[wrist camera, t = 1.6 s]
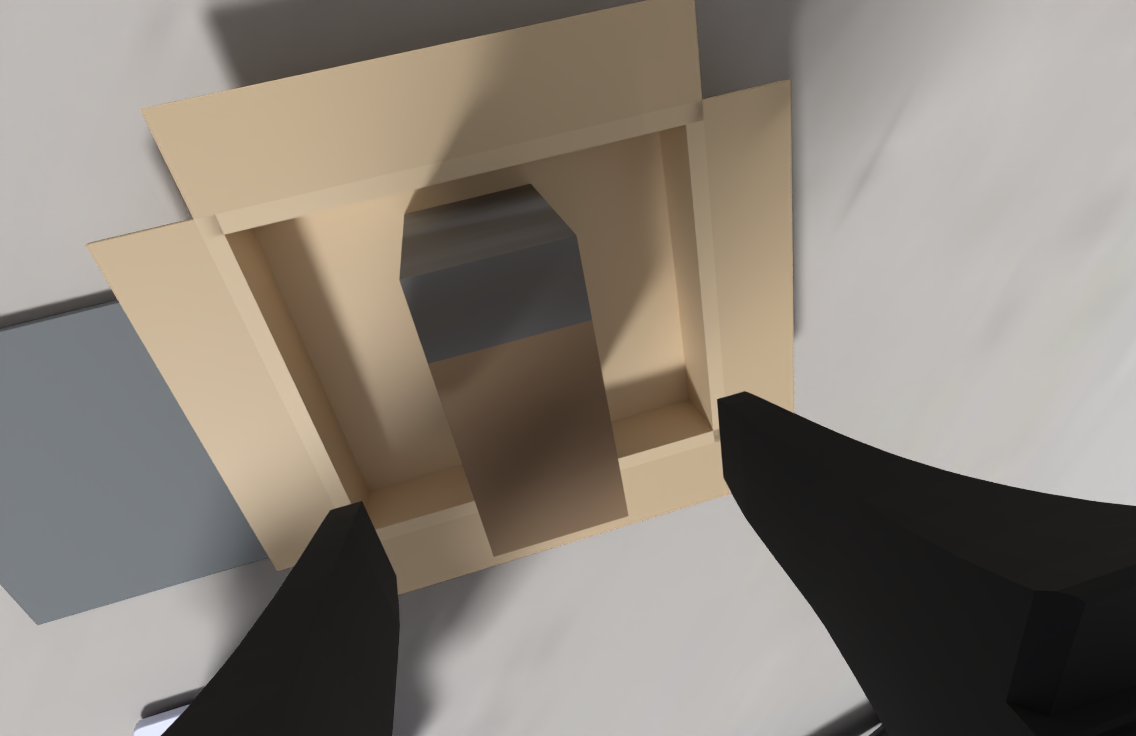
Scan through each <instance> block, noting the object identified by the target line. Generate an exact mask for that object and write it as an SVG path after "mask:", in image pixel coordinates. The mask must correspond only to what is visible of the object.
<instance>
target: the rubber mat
mask: <svg viewBox="0 0 1136 736" xmlns="http://www.w3.org/2000/svg"><path fill="white" fill-rule="evenodd" d="M266 558H269V557H268V555H267V553H266V551H265V550H264V548H263V546H262V545H261V543H260V541H259V540H258V538H257V536H256V534H255V533H254V531H253V529H252V528H251V526H250V524H249V523H248V521H247V519H246V517H245V516H244V514H243V512H242V511H241V509H240V507H239V506H238V504H237V502H236V500H235V499H234V497H233V495H232V494H231V492H230V490H229V489H228V487H227V485H226V483H225V482H224V480H223V478H222V477H221V475H220V473H219V471H218V470H217V468H216V466H215V465H214V463H213V461H212V460H211V458H210V456H209V454H208V453H207V451H206V449H205V448H204V446H203V444H202V443H201V441H200V439H199V437H198V436H197V434H196V432H195V431H194V429H193V427H192V426H191V424H190V422H189V420H188V419H187V417H186V415H185V414H184V412H183V410H182V409H181V407H180V405H179V403H178V402H177V400H176V398H175V397H174V395H173V393H172V392H171V390H170V388H169V386H168V385H167V383H166V381H165V380H164V378H163V376H162V375H161V373H160V371H159V369H158V368H157V366H156V364H155V363H154V361H153V359H152V357H151V356H150V354H149V352H148V351H147V349H146V347H145V346H144V344H143V342H142V340H141V339H140V337H139V335H138V334H137V332H136V330H135V329H134V327H133V325H132V323H131V322H130V320H129V318H128V317H127V315H126V313H125V312H124V310H123V308H122V306H121V305H120V303H119V301H118V300H115V301H110V302H106V303H102V304H98V305H94V306H90V307H86V308H82V309H78V310H74V311H70V312H65V313H61V314H57V315H53V316H49V317H45V318H41V319H37V320H33V321H29V322H25V323H21V324H16V325H12V326H8V327H4V328H0V585H1V586H2V587H3V588H4V589H5V590H6V591H7V592H8V593H9V594H10V596H11V597H12V598H13V599H14V600H15V601H16V602H17V603H18V604H19V605H20V607H21V608H22V609H23V610H24V611H25V612H26V613H27V614H28V615H29V617H30V618H31V619H32V620H33V621H34V622H35V623H36V624H37V625H40V624H43V623H47V622H50V621H54V620H57V619H61V618H64V617H67V616H71V615H74V614H78V613H81V612H84V611H88V610H91V609H95V608H98V607H102V606H105V605H108V604H112V603H115V602H119V601H122V600H125V599H129V598H132V597H136V596H139V595H143V594H146V593H149V592H153V591H156V590H160V589H163V588H166V587H170V586H173V585H177V584H180V583H184V582H187V581H190V580H194V579H197V578H201V577H204V576H208V575H211V574H214V573H218V572H221V571H225V570H228V569H231V568H235V567H238V566H242V565H245V564H249V563H252V562H255V561H259V560H262V559H266Z"/></svg>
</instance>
